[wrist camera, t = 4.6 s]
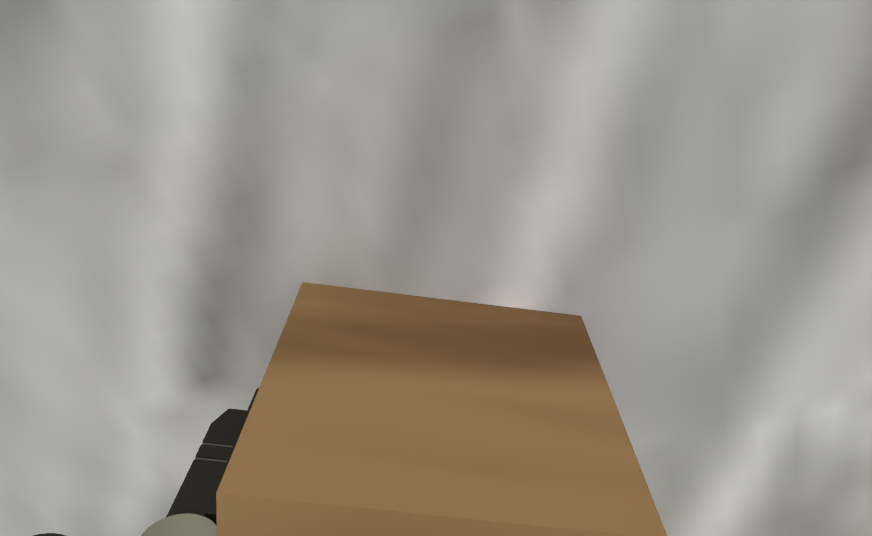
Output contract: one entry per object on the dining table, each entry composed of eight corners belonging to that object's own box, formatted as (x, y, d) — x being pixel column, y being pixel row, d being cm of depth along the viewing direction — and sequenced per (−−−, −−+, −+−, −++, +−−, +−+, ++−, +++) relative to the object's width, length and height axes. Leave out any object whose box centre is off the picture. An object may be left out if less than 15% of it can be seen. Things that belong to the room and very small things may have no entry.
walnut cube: (302, 282, 14) (216, 492, 8) (580, 315, 14) (668, 539, 9) (291, 494, 16) (220, 759, 11) (527, 518, 17) (568, 787, 11)
